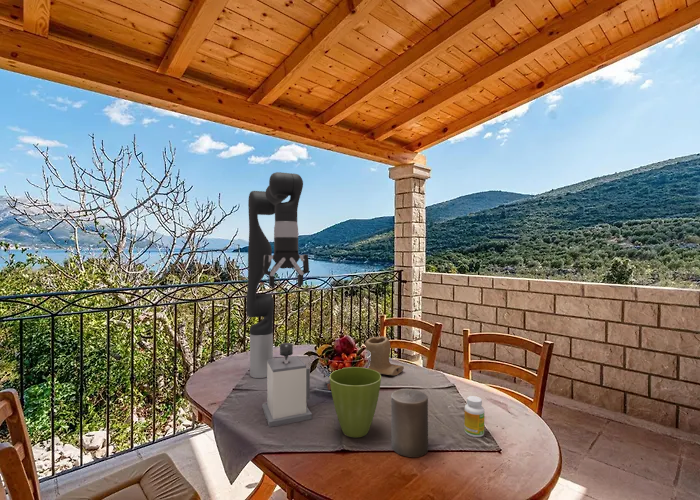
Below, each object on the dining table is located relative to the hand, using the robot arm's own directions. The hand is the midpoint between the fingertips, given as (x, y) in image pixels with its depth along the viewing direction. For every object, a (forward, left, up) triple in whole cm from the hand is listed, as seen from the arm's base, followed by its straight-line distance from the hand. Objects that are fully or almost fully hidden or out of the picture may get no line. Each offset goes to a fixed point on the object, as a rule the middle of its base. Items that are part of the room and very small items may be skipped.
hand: (286, 287), depth 112 cm
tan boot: (-20, +45, -40) cm, 64 cm away
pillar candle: (+31, +26, -40) cm, 57 cm away
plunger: (0, 0, -37) cm, 37 cm away
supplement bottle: (+32, +47, -40) cm, 70 cm away
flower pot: (+18, +16, -40) cm, 47 cm away
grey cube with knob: (0, 0, -40) cm, 40 cm away
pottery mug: (-15, +23, -40) cm, 49 cm away
